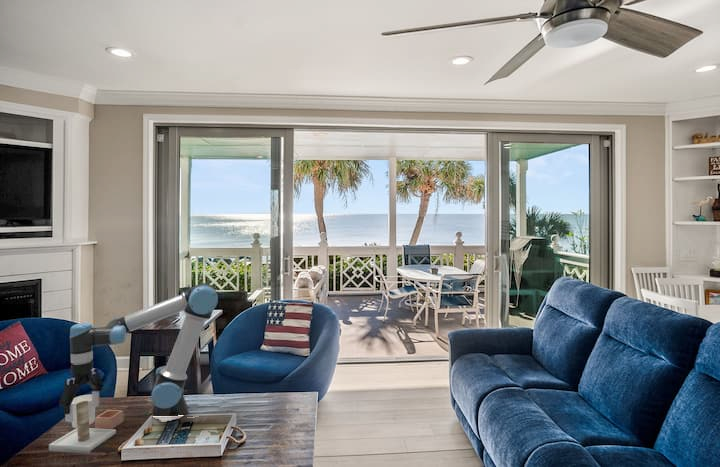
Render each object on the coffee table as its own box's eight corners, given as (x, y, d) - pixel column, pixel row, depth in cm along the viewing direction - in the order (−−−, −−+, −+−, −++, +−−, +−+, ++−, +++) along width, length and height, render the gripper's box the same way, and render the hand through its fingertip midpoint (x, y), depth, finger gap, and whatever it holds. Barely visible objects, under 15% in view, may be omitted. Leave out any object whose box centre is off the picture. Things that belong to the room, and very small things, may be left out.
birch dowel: (92, 436, 167) (90, 401, 167) (84, 441, 163) (82, 405, 163) (83, 435, 168) (81, 400, 167) (75, 441, 164) (73, 405, 163)
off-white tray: (116, 435, 171) (116, 429, 171) (89, 453, 157) (89, 447, 157) (78, 433, 173) (78, 427, 173) (49, 450, 160) (48, 444, 160)
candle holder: (83, 431, 175) (82, 404, 174) (64, 429, 177) (63, 402, 176) (101, 421, 184) (101, 395, 184) (83, 419, 186) (83, 393, 186)
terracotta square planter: (123, 423, 181) (123, 410, 181) (111, 432, 174) (110, 418, 174) (108, 422, 182) (108, 409, 182) (95, 431, 175) (94, 417, 175)
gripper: (97, 352, 178) (98, 400, 178) (46, 372, 153) (47, 427, 153) (112, 352, 177) (113, 401, 177) (64, 372, 152) (65, 428, 152)
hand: (83, 413), depth 165 cm, fingers open, 13 cm apart
